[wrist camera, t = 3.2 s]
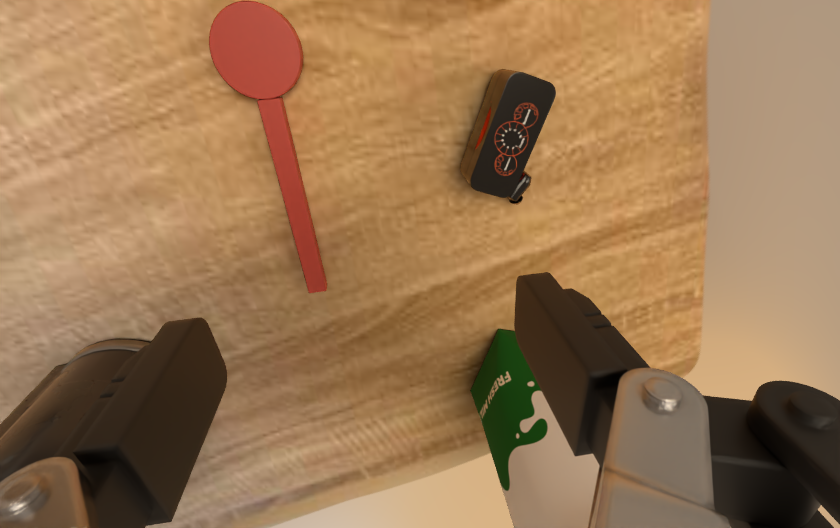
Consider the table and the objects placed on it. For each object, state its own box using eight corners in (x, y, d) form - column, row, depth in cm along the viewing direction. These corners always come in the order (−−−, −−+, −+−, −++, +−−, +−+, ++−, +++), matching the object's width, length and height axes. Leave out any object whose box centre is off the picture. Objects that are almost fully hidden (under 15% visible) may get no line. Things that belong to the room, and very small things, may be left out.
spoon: (287, 290, 28) (285, 297, 27) (202, 6, 20) (195, 5, 19) (350, 281, 28) (349, 288, 27) (291, -2, 20) (288, -4, 19)
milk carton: (545, 406, 37) (705, 725, 20) (455, 396, 35) (544, 743, 18) (588, 333, 33) (833, 649, 16) (490, 316, 31) (648, 660, 14)
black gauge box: (451, 183, 25) (461, 201, 23) (493, 65, 22) (512, 68, 20) (515, 201, 27) (533, 220, 24) (563, 91, 24) (590, 97, 21)
